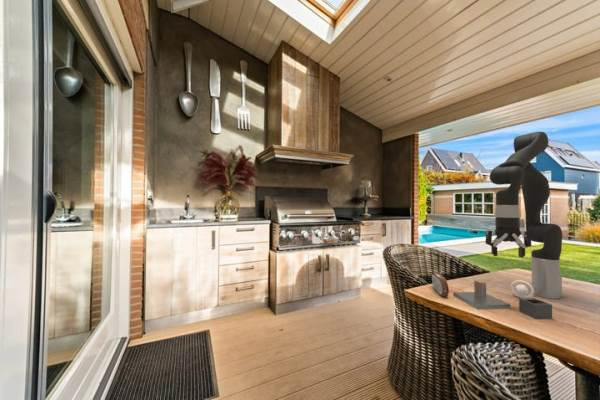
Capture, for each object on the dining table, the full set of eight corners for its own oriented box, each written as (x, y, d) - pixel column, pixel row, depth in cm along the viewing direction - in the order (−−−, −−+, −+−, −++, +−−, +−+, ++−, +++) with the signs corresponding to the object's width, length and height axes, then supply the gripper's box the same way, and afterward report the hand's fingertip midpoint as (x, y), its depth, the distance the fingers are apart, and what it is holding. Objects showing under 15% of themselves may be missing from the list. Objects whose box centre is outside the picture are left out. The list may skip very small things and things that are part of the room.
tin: (449, 299, 107) (449, 280, 108) (441, 298, 108) (441, 279, 108) (437, 287, 122) (437, 270, 122) (430, 287, 123) (430, 270, 123)
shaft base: (482, 295, 112) (482, 276, 112) (510, 308, 98) (510, 286, 98) (453, 295, 111) (453, 276, 111) (477, 309, 97) (477, 287, 98)
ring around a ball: (535, 300, 107) (535, 281, 107) (531, 303, 103) (531, 284, 103) (511, 294, 113) (511, 277, 113) (507, 297, 110) (507, 279, 110)
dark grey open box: (519, 311, 96) (519, 297, 96) (534, 310, 96) (534, 297, 96) (536, 318, 89) (535, 304, 89) (552, 318, 90) (552, 304, 90)
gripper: (523, 215, 99) (524, 255, 99) (482, 215, 104) (483, 253, 104) (534, 217, 92) (535, 259, 92) (490, 216, 97) (490, 257, 97)
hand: (507, 256), depth 98 cm, fingers open, 8 cm apart
